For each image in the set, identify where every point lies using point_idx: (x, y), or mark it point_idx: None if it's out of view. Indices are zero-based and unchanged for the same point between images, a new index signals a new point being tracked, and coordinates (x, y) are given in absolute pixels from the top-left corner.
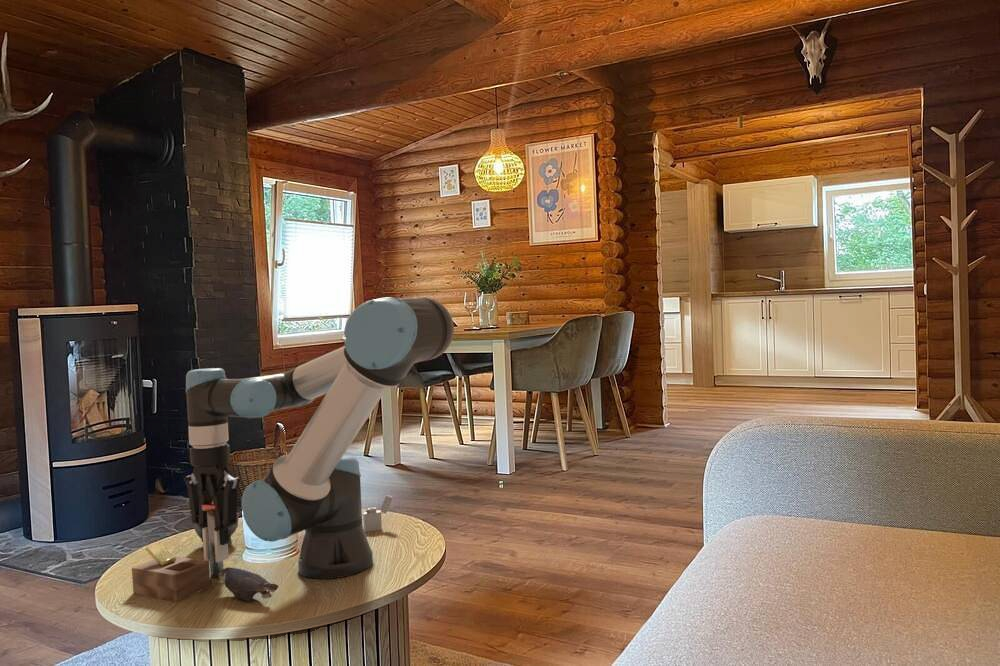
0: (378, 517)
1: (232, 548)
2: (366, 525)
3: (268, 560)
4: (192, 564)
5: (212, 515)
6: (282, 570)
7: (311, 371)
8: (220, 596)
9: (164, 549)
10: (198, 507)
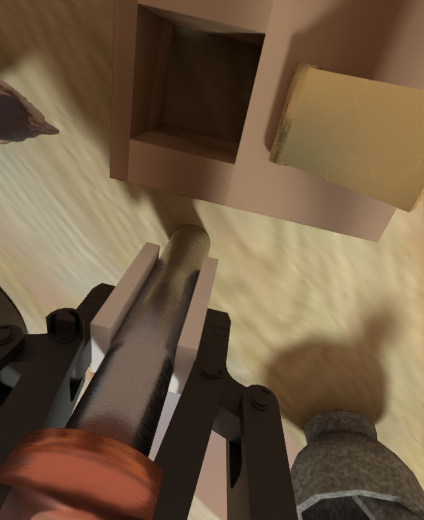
0: None
1: (282, 412)
2: None
3: None
4: (173, 149)
5: (85, 408)
6: (43, 289)
7: None
8: (42, 69)
9: (348, 174)
10: (239, 504)
